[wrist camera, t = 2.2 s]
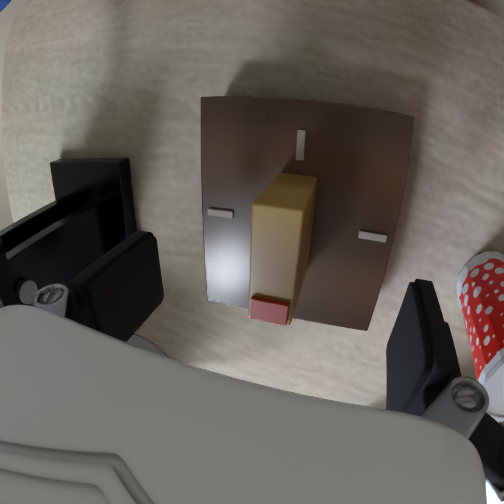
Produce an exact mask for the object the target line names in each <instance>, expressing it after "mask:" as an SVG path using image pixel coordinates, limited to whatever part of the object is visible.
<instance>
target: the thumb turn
mask: <svg viewBox="0 0 504 504" xmlns="http://www.w3.org/2000/svg"><path fill="white" fill-rule="evenodd" d="M317 180H318V179H317V177H312V176H305V175H297V174H289V173H280V174H279V175H278V176H277V177H276V178H275V179H274V180H273V181H272V182H271V183H270V184H269V185H268V187H267V188H266V189H265V190H264V191H263V192H262V193H261V194H260V195H259V196H258V197H257V199H256V200H255V201H254V202H253V203H252V214H251V249H250V284H249V317H250V318H252V319H257V320H262V321H266V322H271V323H276V324H281V325H290V324H291V322H292V318H293V315H294V312H295V309H296V305H297V302H298V299H299V295H300V292H301V289H302V285H303V282H304V278H305V275H306V271H307V266H308V259H309V251H310V243H311V235H312V227H313V218H314V209H315V200H316V190H317Z"/></svg>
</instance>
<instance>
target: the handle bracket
mask: <svg viewBox="0 0 504 504" xmlns="http://www.w3.org/2000/svg"><path fill="white" fill-rule="evenodd" d="M50 167H51V174H52V181H53V187H54V193H55V198H56V201H54V202H52V203H50V204H48V205H46V206H44V207H42V208H40V209H38V210H36V211H35V212H33V213H31V214H29V215H27V216H26V217H24V218H22V219H20V220H18V221H17V222H15V223H13V224H11V225H10V226H8V227H6V228H5V229H3V230H1V231H0V237H1V240H2V244H3V247H4V250H6V251H9V252H8V253H6V254H5V255H3V256H2V257H0V309H1V308H3V307H5V306H11V305H30V304H32V301H33V298H34V296H35V294H36V293H37V292H38V291H39V290H40V289H42V288H43V287H45V286H48V285H51V284H63V285H65V286H66V287H67V288H68V291H70V290H71V289H72V288H71V284H70V280H71V279H72V278H73V277H75V276H76V275H77V274H79V273H80V272H81V271H83V270H84V269H85V268H86V267H88V266H89V265H90V264H92V263H93V262H94V261H96V260H97V259H99V258H100V257H101V256H103V255H104V254H105V253H107V252H108V251H109V250H111V249H112V248H114V247H115V246H116V245H118V244H119V243H121V242H122V241H123V240H125V239H126V238H128V237H129V236H130V235H132V234H133V233H135V232H136V231H137V228H136V220H135V212H134V204H133V195H132V185H131V175H130V163H129V158H77V159H58V160H56V161H53V162H51V163H50Z"/></svg>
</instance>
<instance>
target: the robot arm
mask: <svg viewBox="0 0 504 504" xmlns="http://www.w3.org/2000/svg"><path fill="white" fill-rule="evenodd" d="M70 284H71V288H72V289H71V290H70V291H68V288H67V287H66V286H65V285H63V284H51V285H48V286H45V287H43V288H42V289H40V290H39V291H38V292H37V293H36V294H35V296H34V298H33V301H32V304H30V305H11V306H5V307H3V308H1V309H0V504H504V427H503V426H502V425H500V424H499V423H498V422H497V421H496V420H495V419H494V418H492V417H491V416H490V415H489V414H488V413H487V412H486V411H487V409H488V406H489V396H488V393H487V391H486V389H485V388H484V386H483V385H482V384H481V383H479V382H478V381H476V380H475V379H473V378H469V377H461V372H460V367H459V363H458V359H457V354H456V350H455V346H454V342H453V339H452V335H451V331H450V328H449V325H448V323H447V322H444V319H443V315H442V312H441V308H440V305H439V302H438V298H437V295H436V292H435V289H434V286H433V283H432V281H427V280H421V279H416V280H415V282H410V283H409V285H408V288H407V291H406V294H405V297H404V300H403V303H402V306H401V308H400V311H399V314H398V317H397V319H396V322H395V325H394V327H393V330H392V333H391V335H390V338H389V340H388V344H387V349H386V358H387V396H386V410H385V409H379V408H374V407H368V406H362V405H356V404H350V403H344V402H338V401H333V400H328V399H323V398H318V397H313V396H308V395H303V394H298V393H294V392H289V391H285V390H280V389H276V388H272V387H268V386H264V385H260V384H256V383H252V382H248V381H244V380H240V379H237V378H233V377H229V376H226V375H222V374H219V373H215V372H212V371H209V370H205V369H202V368H199V367H196V366H192V365H189V364H186V363H183V362H180V361H177V360H174V359H171V358H168V357H165V356H162V355H159V354H156V353H154V352H151V351H148V350H145V349H143V348H140V347H137V346H134V345H132V344H129V343H126V342H127V341H128V340H129V339H130V338H131V337H132V335H133V334H134V333H135V332H136V331H137V330H138V329H139V327H140V326H141V325H142V324H143V323H144V322H145V321H146V319H147V318H148V317H149V316H150V315H151V314H152V313H153V312H154V310H155V309H156V308H157V307H158V306H159V305H160V304H161V302H162V301H163V298H164V291H163V284H162V277H161V270H160V262H159V254H158V246H157V239H156V238H155V237H154V235H153V234H152V233H151V232H145V231H139V230H138V231H136V232H135V233H133V234H132V235H130V236H129V237H128V238H126V239H125V240H123V241H122V242H121V243H119V244H118V245H116V246H115V247H114V248H112V249H111V250H109V251H108V252H107V253H105V254H104V255H103V256H101V257H100V258H99V259H97V260H96V261H94V262H93V263H92V264H90V265H89V266H88V267H86V268H85V269H84V270H83V271H81V272H80V273H79V274H77V275H76V276H75V277H73V278H72V279H71V280H70Z"/></svg>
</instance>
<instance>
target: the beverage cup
mask: <svg viewBox="0 0 504 504" xmlns="http://www.w3.org/2000/svg"><path fill="white" fill-rule="evenodd" d="M456 291H457V296H458V300H459V304H460V307H461V311H462V315H463V318H464V322H465V326H466V330H467V335H468V339H469V343H470V348H471V352H472V357H473V362H474V368H475V373H476V379H477V381H478V382H479V383H481V384H482V385H483V386H484V388H485V389H486V391H487V393H488V396H489V406H488V409H487V411H486V412H487V413H488V414H489V415H490V416H491V417H492V418H494V419H495V420H496V421H497V422H502V421H504V254H502V253H500V252H498V251H486V252H483V253H481V254H479V255H476V256H474V257H473V258H472V259H471V260H470V261H469V262H468V263H467V264H465V266H464V267H463V269H462V271H461V273H460V274H459V276H458V280H457V285H456Z"/></svg>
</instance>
